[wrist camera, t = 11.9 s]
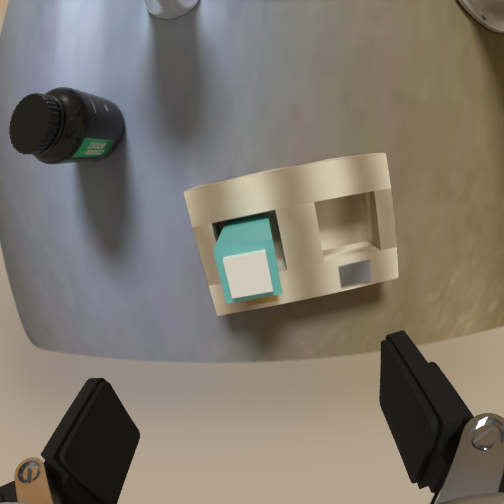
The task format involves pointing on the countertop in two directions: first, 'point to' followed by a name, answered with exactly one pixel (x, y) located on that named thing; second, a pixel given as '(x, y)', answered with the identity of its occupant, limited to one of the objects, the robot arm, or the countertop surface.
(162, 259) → the countertop surface
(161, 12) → the beer glass
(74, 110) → the supplement bottle
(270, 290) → the plug
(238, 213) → the socket block
